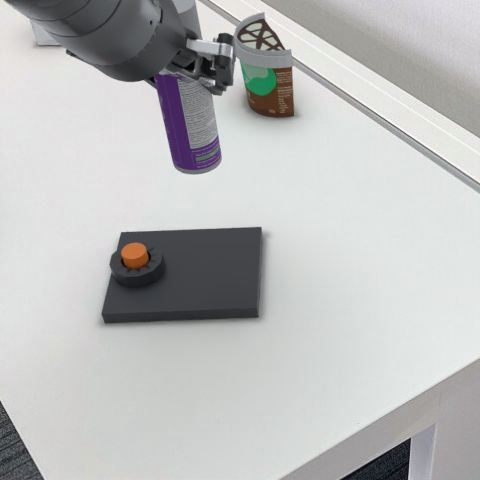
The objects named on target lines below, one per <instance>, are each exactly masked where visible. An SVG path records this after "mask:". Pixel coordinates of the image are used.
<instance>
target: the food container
mask: <svg viewBox="0 0 480 480" xmlns="http://www.w3.org/2000/svg"><path fill="white" fill-rule="evenodd" d="M232 36H234V41H235V49H236V59H238V60H239V65H240V70H241V74H242V78H243V83H244V89H245V93H246V99H247V103H248V106H249V108H250V109H251V110H252V111H253V112H255V113H256V114H258V115H260V116H264V117H269V118H290V117H294V116H295V104H294V103H295V99H294V77H293V67H294V60H293V54H292V48H289V49H286V48H285V46H284V45H283V43H282V41H281V39H280V37H279V36H278V34H277V32H275V30H274V29H272V28H271V26H270V25H269V24H268V22H267V20H266V13H265V11H262V12H258V13H255V14H252V15H250V16H248V17H246V18H244V19H243V20H241V21H240V22H239V23H238V24H237V25H236V27H235V28H234V32H233V35H232Z"/></svg>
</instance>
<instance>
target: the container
mask: <svg viewBox="0 0 480 480" xmlns="http://www.w3.org/2000/svg"><path fill="white" fill-rule="evenodd" d="M172 1H173V3H174V5H175V7H176V9H177V11H178V14H179V17H180V19H181V22H182V25H183V26H184V27H186V28H188V29H190V30H192V31H194V32H195V33H196V34H197V35H198V37H199V39H201V40H204V39H203V35H202V29H201V24H200V19H199V14H198V8H197V2H196V0H172ZM201 68H202V62H201ZM154 80H155V84H156V89H157V90H156V89H155V90H156V93H157V97H158V102H159V106H160V107H159V108H160V111H161V115H162V120H163V124H164V129H165V130H164V131H165V133H166V138H167V142H168V143H167V144H168V147H169V152H170V158H171V160H172V161H171V162H172V166H173V167H174V168H175V170H177V171H178V172H179V173H182V174H185V175H195V176H196V175H203V174H207V173H209V172H211V171H214V170H215V169H217V168H218V167H219V166H220V164H221V163H222V159H223V156H222V149H221V142H220V137H219V131H218V124H217V117H216V112H215V104H214V99H213V94H211V93H210V92H209V91H208V90H207V89H206V88H205V87H203V86H202V85H201V84H200V83H198V82H183V81H181V80H179V79H177V78H175V77H172V76H170V75H161V74H159V73H158V74H156V75H154Z"/></svg>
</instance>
